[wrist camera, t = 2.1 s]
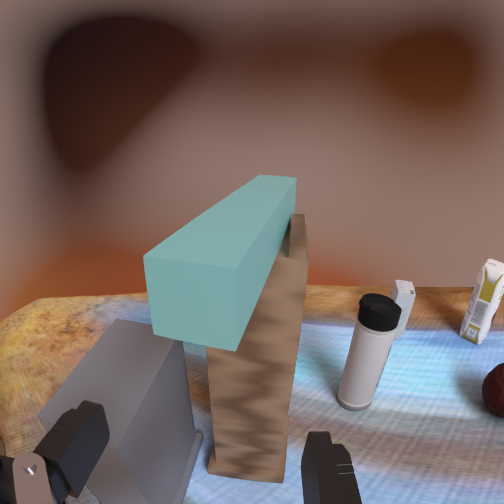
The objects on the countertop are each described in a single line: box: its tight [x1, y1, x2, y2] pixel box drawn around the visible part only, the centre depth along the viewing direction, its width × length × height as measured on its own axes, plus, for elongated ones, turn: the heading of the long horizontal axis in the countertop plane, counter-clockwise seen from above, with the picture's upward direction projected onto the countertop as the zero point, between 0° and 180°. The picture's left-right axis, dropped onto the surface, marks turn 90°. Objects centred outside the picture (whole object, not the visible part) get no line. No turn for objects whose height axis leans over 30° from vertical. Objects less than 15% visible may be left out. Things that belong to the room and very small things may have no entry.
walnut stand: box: [206, 214, 309, 483], centre depth 34 cm, size 10×11×33 cm
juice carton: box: [460, 258, 504, 345], centre depth 60 cm, size 8×9×19 cm
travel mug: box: [337, 293, 402, 411], centre depth 45 cm, size 6×7×20 cm
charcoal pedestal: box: [38, 319, 203, 504], centre depth 30 cm, size 10×18×21 cm, turn 172°
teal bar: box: [143, 175, 297, 351], centre depth 24 cm, size 4×24×4 cm, turn 167°
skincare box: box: [391, 280, 416, 340], centre depth 65 cm, size 6×4×12 cm
